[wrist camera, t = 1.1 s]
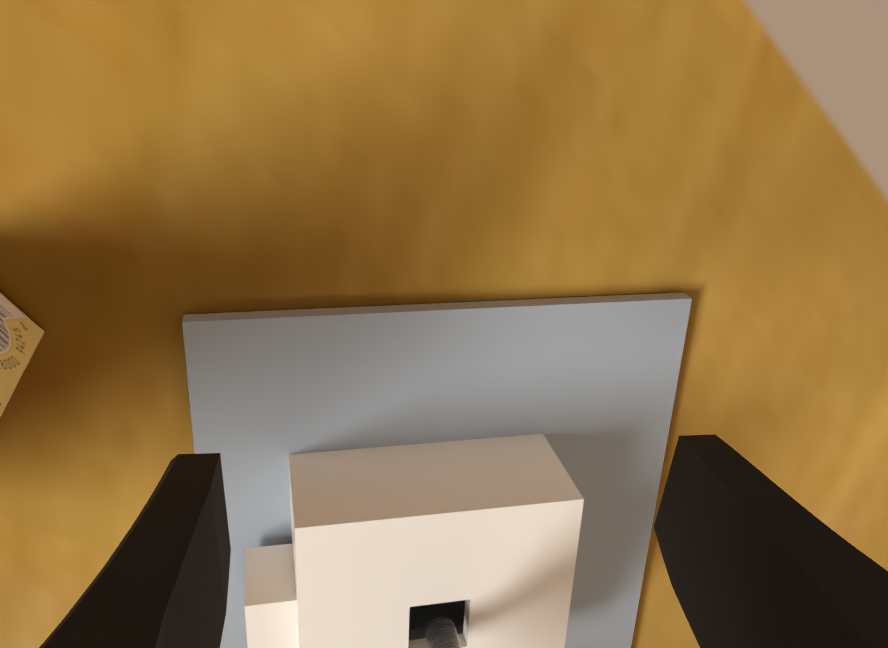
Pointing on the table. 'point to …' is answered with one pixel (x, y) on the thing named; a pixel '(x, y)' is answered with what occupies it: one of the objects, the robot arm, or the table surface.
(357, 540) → the box
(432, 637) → the plunger
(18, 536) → the table surface
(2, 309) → the candy box
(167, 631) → the robot arm
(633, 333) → the board
